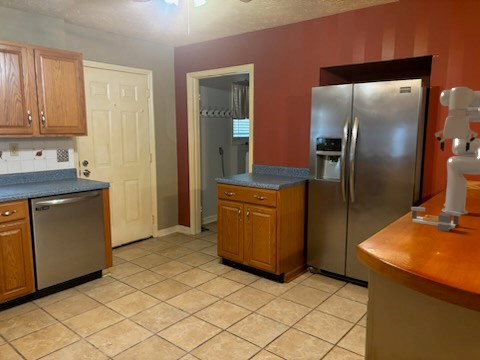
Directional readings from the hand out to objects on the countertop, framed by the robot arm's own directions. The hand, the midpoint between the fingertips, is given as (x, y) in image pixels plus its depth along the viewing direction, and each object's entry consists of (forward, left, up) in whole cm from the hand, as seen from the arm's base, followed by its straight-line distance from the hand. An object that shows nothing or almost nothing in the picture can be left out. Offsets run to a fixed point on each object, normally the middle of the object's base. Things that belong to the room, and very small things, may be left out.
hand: (454, 151), depth 167 cm
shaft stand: (-3, -5, -36) cm, 36 cm away
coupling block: (+8, -7, -36) cm, 37 cm away
